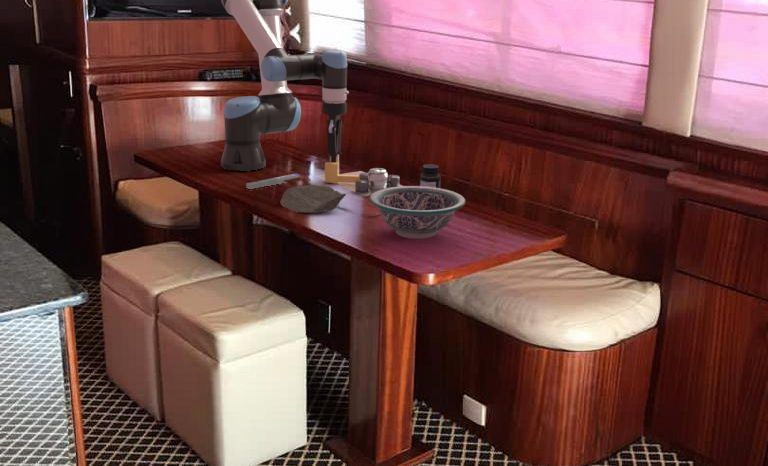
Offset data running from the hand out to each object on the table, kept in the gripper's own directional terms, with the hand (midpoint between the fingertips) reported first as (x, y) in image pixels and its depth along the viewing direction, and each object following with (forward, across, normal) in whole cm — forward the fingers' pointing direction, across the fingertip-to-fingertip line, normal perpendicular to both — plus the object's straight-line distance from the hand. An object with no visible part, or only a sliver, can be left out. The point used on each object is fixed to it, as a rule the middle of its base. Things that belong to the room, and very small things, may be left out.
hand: (334, 174), depth 270 cm
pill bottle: (+3, -15, -32) cm, 36 cm away
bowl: (+3, -46, -32) cm, 56 cm away
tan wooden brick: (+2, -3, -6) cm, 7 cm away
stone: (+3, -28, +1) cm, 28 cm away
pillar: (+3, -6, +18) cm, 19 cm away
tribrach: (+3, -1, -9) cm, 10 cm away
